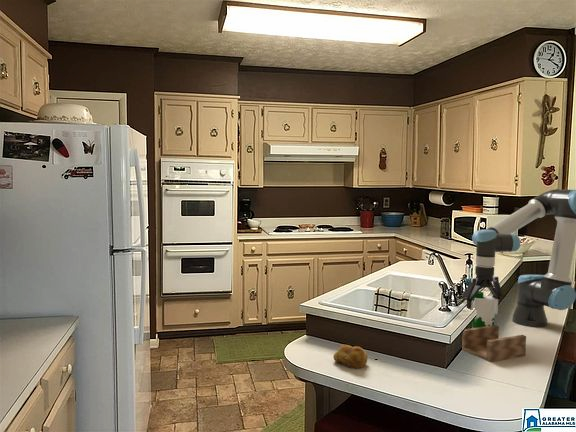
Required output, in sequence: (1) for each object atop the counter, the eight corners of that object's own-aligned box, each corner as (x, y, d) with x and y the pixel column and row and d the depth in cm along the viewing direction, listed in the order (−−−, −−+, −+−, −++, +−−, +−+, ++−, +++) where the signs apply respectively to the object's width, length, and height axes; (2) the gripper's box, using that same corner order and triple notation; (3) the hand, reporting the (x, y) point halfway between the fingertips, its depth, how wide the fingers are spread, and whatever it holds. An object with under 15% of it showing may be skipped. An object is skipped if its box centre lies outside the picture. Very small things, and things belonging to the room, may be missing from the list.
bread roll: (328, 364, 184) (329, 343, 183) (341, 356, 192) (342, 336, 191) (360, 372, 177) (360, 350, 176) (372, 364, 184) (372, 343, 184)
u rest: (494, 343, 209) (495, 324, 208) (525, 355, 194) (526, 336, 194) (460, 348, 202) (461, 329, 201) (489, 361, 187) (490, 341, 187)
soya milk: (469, 334, 220) (471, 289, 219) (491, 335, 219) (493, 290, 217) (472, 340, 212) (474, 294, 210) (495, 342, 210) (497, 295, 208)
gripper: (500, 263, 221) (497, 310, 222) (455, 265, 211) (453, 314, 213) (513, 266, 214) (511, 314, 216) (468, 268, 204) (465, 319, 206)
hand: (482, 314), depth 214 cm, fingers open, 13 cm apart
